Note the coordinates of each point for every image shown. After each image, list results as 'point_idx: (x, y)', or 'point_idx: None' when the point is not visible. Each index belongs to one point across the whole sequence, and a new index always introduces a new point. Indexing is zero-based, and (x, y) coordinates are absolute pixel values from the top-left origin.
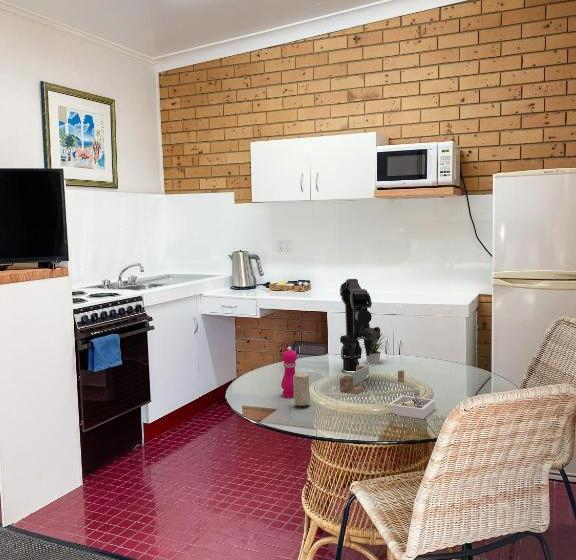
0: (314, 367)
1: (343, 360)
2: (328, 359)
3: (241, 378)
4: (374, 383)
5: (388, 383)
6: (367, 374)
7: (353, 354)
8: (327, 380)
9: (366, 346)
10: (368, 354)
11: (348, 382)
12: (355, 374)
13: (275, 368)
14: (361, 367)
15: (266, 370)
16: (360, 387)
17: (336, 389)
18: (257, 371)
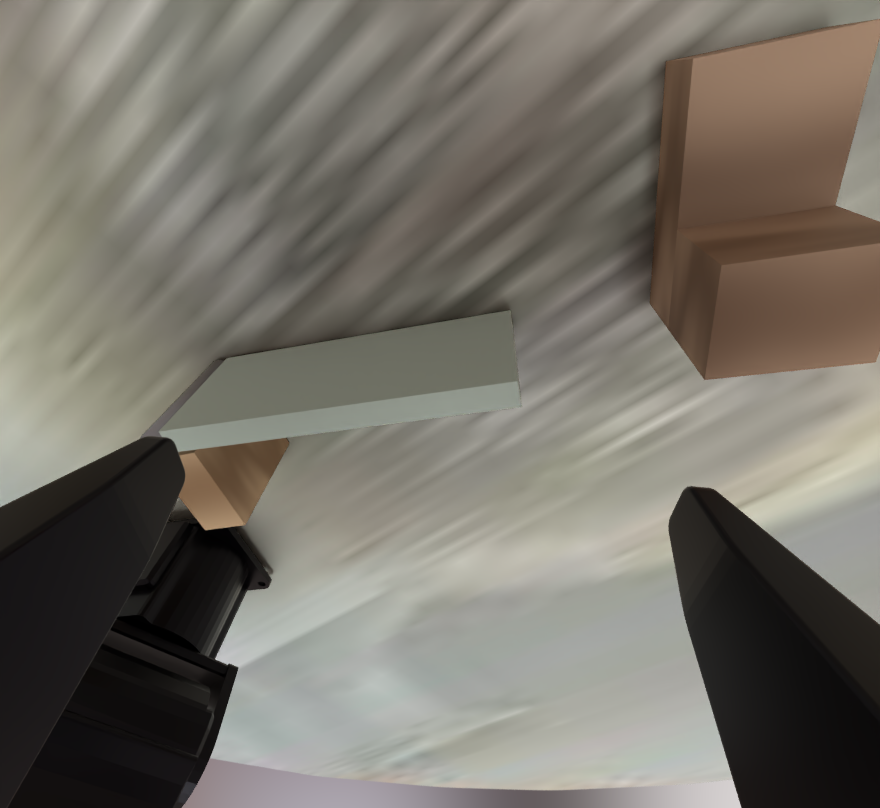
0: (317, 695)
1: (214, 657)
2: None
3: (714, 780)
4: (260, 228)
5: (121, 94)
6: (213, 382)
7: (830, 593)
8: (484, 548)
9: (10, 712)
10: (149, 463)
11: (842, 227)
12: (472, 373)
13: (470, 766)
14: (216, 478)
15: (525, 773)
16: (742, 62)
17: (685, 372)
18: (564, 783)
